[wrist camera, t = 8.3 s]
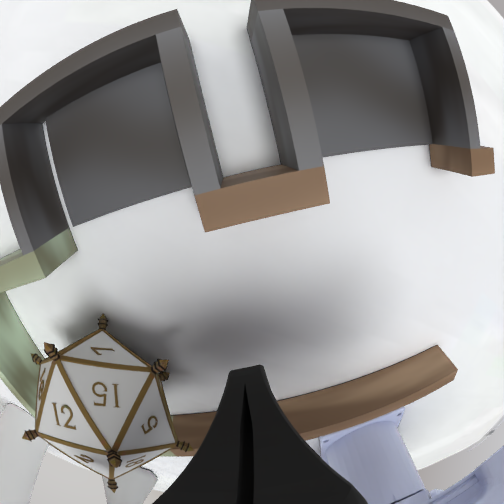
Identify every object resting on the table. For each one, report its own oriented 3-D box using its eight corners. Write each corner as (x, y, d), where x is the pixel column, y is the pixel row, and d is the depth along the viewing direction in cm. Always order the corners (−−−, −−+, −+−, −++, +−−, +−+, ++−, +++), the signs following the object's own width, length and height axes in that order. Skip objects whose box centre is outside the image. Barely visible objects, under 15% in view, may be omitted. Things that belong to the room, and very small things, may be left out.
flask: (102, 468, 22) (90, 527, 12) (97, 450, 19) (80, 522, 10) (156, 484, 23) (150, 545, 14) (160, 469, 21) (154, 544, 11)
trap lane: (434, 355, 16) (459, 388, 13) (90, 422, 17) (78, 456, 13) (428, 34, 8) (476, 17, 4) (-40, 179, 8) (-80, 194, 5)
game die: (155, 339, 18) (167, 472, 13) (42, 320, 13) (45, 464, 8) (208, 296, 12) (233, 513, 7) (17, 258, 7) (21, 514, 2)
